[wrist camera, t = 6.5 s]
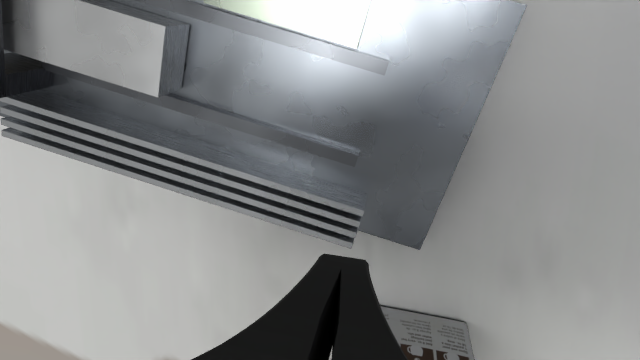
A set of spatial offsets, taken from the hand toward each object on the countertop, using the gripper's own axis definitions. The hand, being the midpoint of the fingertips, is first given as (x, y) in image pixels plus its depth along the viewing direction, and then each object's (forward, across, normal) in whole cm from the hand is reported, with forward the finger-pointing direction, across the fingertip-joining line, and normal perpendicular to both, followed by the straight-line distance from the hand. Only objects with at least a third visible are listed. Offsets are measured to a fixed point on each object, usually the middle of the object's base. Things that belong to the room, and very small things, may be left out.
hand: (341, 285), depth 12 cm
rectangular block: (+9, +14, -6) cm, 17 cm away
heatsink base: (+10, +8, -5) cm, 13 cm away
